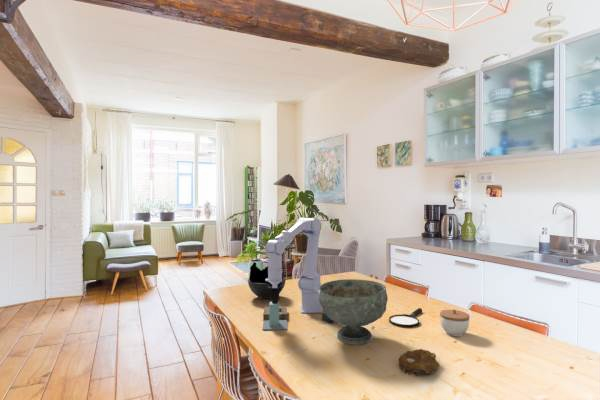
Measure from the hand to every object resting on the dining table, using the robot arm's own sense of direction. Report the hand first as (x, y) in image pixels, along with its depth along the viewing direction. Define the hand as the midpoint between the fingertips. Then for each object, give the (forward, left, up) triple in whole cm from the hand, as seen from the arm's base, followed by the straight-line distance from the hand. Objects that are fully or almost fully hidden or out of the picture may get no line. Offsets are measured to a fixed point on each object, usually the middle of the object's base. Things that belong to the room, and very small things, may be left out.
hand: (275, 300), depth 149 cm
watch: (-24, -4, -11) cm, 26 cm away
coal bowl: (+5, -40, -11) cm, 42 cm away
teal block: (0, 0, -10) cm, 10 cm away
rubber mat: (0, 0, -10) cm, 10 cm away
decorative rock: (-47, +38, -11) cm, 61 cm away
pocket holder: (0, -12, -10) cm, 16 cm away
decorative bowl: (-30, +15, -11) cm, 35 cm away
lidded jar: (-71, +13, -11) cm, 73 cm away
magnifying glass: (-59, -5, -11) cm, 61 cm away
